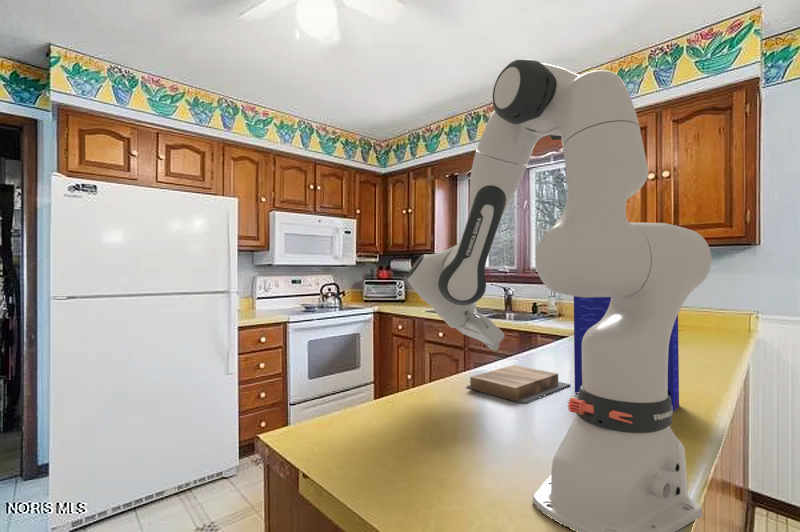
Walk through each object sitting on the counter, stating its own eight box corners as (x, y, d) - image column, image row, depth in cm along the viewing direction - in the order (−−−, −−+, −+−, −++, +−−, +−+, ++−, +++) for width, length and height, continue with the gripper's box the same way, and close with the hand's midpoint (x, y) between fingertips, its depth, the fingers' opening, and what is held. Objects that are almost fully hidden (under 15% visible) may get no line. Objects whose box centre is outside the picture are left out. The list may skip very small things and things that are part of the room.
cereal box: (679, 405, 97) (677, 276, 97) (673, 412, 93) (671, 277, 93) (583, 387, 112) (582, 276, 112) (574, 392, 108) (573, 276, 108)
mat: (525, 403, 99) (525, 401, 99) (466, 387, 113) (466, 385, 113) (570, 386, 113) (570, 384, 113) (513, 373, 127) (513, 372, 127)
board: (515, 387, 100) (558, 373, 113) (470, 376, 111) (513, 364, 124) (515, 400, 100) (558, 384, 113) (470, 388, 111) (514, 375, 124)
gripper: (485, 304, 93) (525, 345, 95) (452, 298, 113) (486, 332, 115) (466, 325, 92) (507, 366, 94) (437, 315, 112) (471, 349, 114)
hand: (495, 347), depth 105 cm, fingers closed
